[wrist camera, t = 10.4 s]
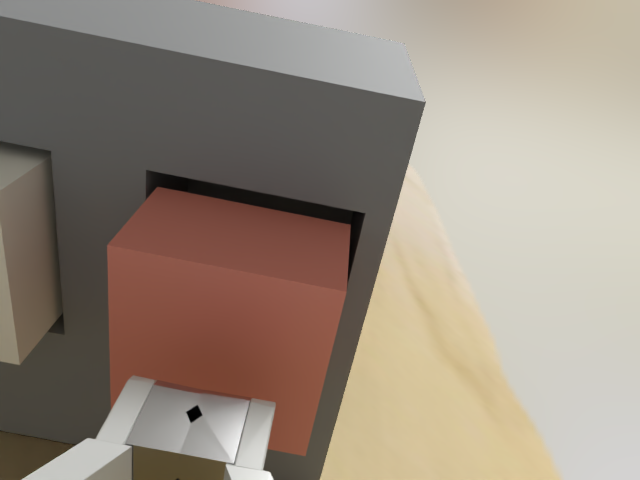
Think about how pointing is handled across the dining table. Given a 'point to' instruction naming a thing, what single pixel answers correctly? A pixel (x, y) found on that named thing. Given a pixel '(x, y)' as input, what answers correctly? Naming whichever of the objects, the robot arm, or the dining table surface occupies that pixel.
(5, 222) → the ivory key
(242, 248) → the red key
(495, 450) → the dining table surface
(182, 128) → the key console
